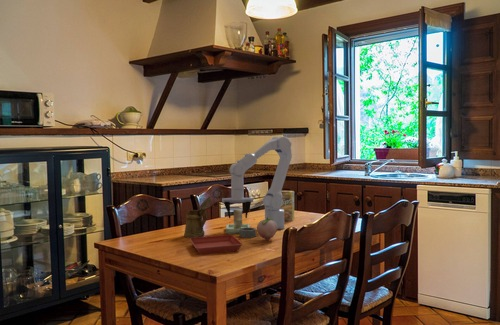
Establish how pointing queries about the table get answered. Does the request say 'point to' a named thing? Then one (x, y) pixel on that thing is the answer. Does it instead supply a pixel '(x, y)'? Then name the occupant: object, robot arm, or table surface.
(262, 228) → the decorative fruit
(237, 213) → the dowel
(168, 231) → the table surface
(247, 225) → the tray
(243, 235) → the octagonal ring
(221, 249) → the plant saucer
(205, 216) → the brown wooden container
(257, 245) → the table surface
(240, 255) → the table surface
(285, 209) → the candy box
